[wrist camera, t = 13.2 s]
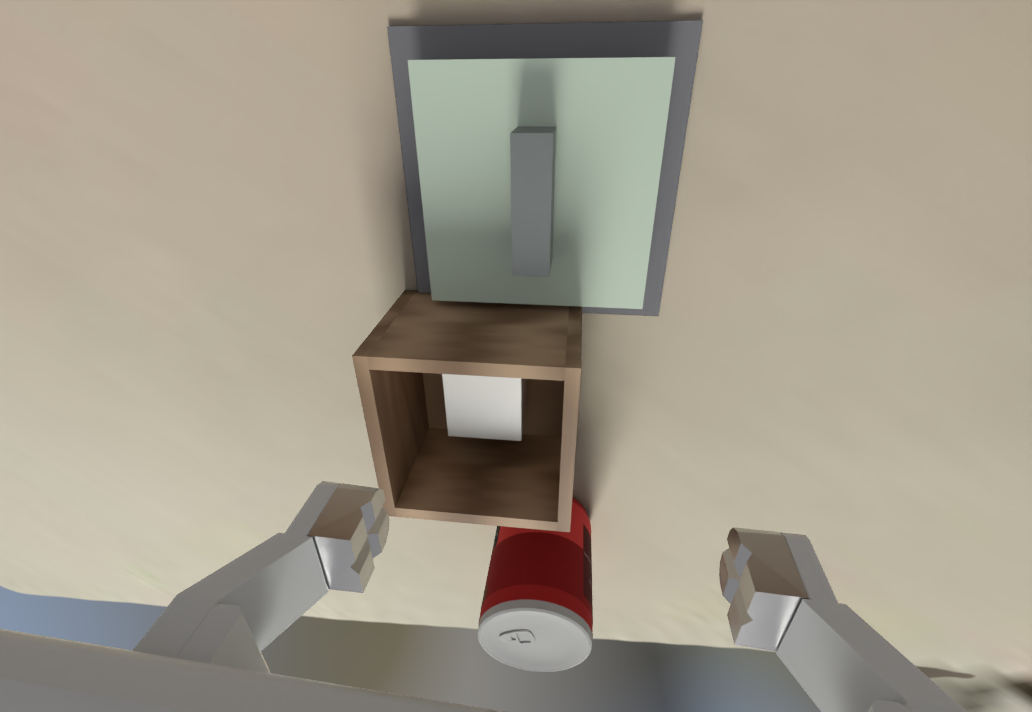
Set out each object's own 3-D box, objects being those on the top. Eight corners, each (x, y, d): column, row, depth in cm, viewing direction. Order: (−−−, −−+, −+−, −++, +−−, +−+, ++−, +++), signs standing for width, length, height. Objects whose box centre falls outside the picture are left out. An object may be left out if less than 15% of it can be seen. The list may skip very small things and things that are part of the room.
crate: (582, 296, 33) (580, 368, 25) (572, 439, 39) (570, 532, 31) (405, 290, 34) (352, 355, 26) (423, 428, 40) (384, 515, 32)
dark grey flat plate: (701, 20, 25) (702, 20, 24) (657, 314, 33) (658, 316, 32) (389, 26, 26) (387, 26, 26) (420, 304, 34) (419, 305, 34)
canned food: (483, 501, 43) (455, 622, 34) (565, 473, 41) (559, 597, 31) (526, 556, 46) (512, 681, 37) (605, 533, 44) (611, 662, 34)
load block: (527, 346, 34) (521, 378, 31) (527, 406, 37) (521, 441, 33) (456, 343, 35) (442, 373, 31) (460, 401, 37) (448, 435, 34)
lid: (668, 57, 25) (686, 56, 21) (638, 294, 32) (647, 332, 27) (420, 60, 27) (386, 59, 22) (440, 286, 33) (418, 321, 29)
